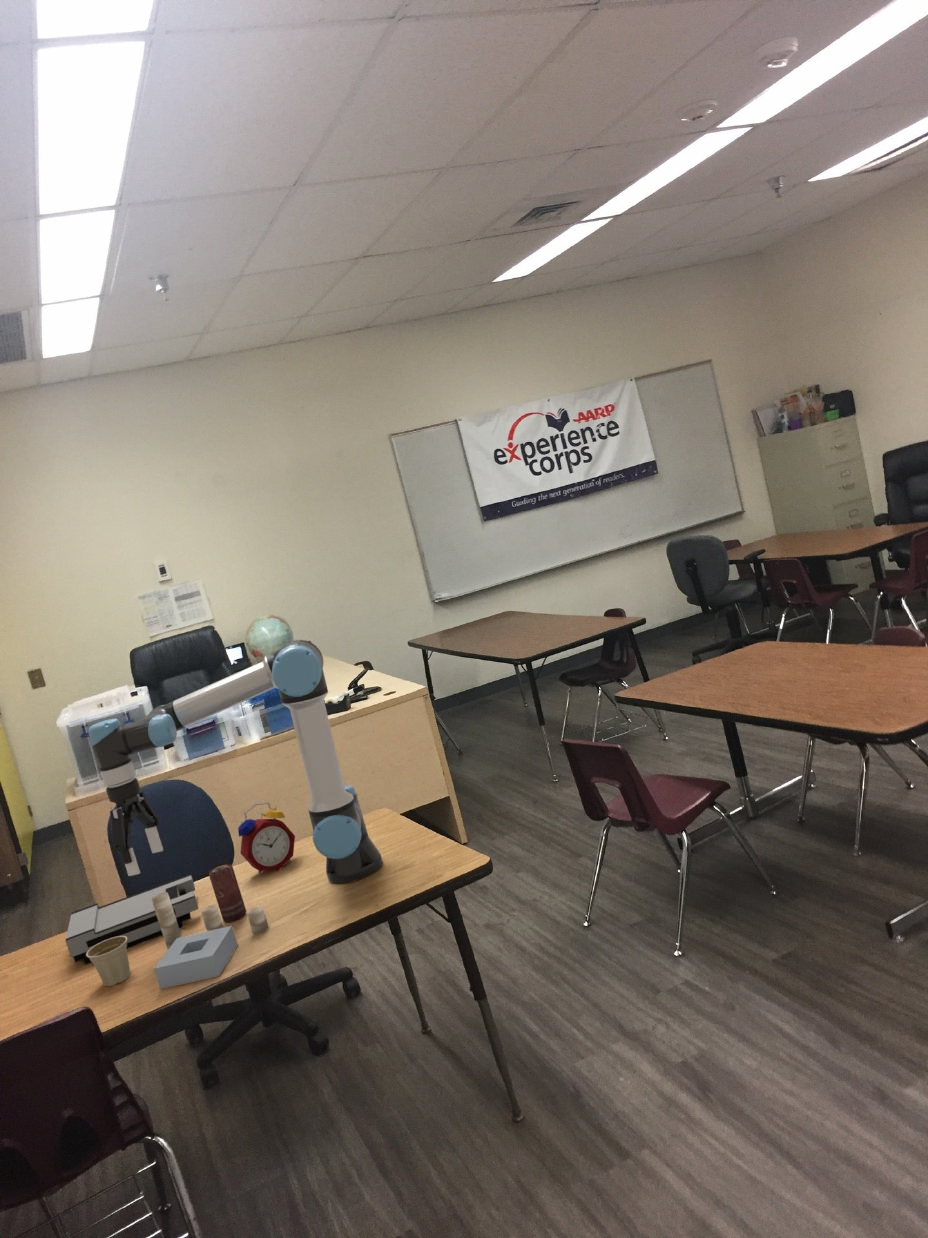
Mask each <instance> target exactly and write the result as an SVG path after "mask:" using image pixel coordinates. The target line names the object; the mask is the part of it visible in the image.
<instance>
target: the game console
mask: <svg viewBox="0 0 928 1238" xmlns="http://www.w3.org/2000/svg"><path fill="white" fill-rule="evenodd" d="M195 891H196V886H195V883H194V879H193V876H192V873H189V874H186V875H184V876H180V877H178V878H176V879H175V878H174V879H173V880H170V881H167V882H164V883H162V884H159V885H157V886H153V887H151V888H149V889H145V890H143V891H140V892H137V893H135V894H132V895H128V896H127V897H124V898H120V899H118V900H115V901H113V902H110V903H107V904H104V905H102V906H99V904H98V903H94V904H92V905H89V906H87V907H84V908H81V909H78V910H75V911H73V912H71V913H70V918H69V923H68V927H67V932H66V936H65V943H66V947H67V950H68V953H69V956H70V958H73V960H74V962H75V963H78V962H80V961H82V962H83V964H84V966H85V965H88V964H91V963H92V962H91V961H90V959H89V958H88V957H87V956H86V953H87V952H88V951H89V950H90V949H91V948H92V947H93V946H95V945H96V944H98V943H100V942H102V941H104V940H107V939H110V938H113V937H117V936H126V937H127V947H126V949H131V948H132V947H135V946H137V945H138V946H139V945H140V944H143V943H145V942H148V941H151V940H153V939H157V938H158V937H161V936H163V934H162V930H161V927H160V924H159V921H158V918H157V915H156V912H155V909H154V906H153V903H152V900H151V899H152V898H153V897H154V896H156V895H158V894H160V893H164V892H167V893H168V895H169V898H170V901H171V904H172V907H173V911H174V914H175V917H176V920H177V923H178V926H179V929H182V928H184V925H183V922H185V921H188V920H190V919H192V917H191V912H195V911H198V910H199V905H198V904H199V903H198V901H197V898H196V894H195Z"/></svg>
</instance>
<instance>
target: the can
mask: <svg viewBox="0 0 928 1238" xmlns="http://www.w3.org/2000/svg"><path fill="white" fill-rule="evenodd" d="M208 877H209V880H210V883H211V886H212V889H213V892H214V895H215V898H216V902H217V907H218V910H219V913H220V916H221V920H222V922H225V923H227V924H229V923H235V922H237V921H240V920H241V919H243V918H244V917H245V916H247V908H246V906H245V905H246V904H245V902H244V899H243V896H242V893H241V889H240V887H239V886H240V885H239V883H238V879H237V877H236V873H235V870H234V866H233V865H232V864H231V863H230V862H223V863H219V864H217V865H214V866H213V867H211V868H210V869H209V871H208Z"/></svg>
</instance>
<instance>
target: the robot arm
mask: <svg viewBox="0 0 928 1238" xmlns="http://www.w3.org/2000/svg"><path fill="white" fill-rule="evenodd" d="M327 685H328V684H327V682H326V676H325V673H324V656H323V654H322V652H321V650H320V649H319V648H318V646H317V645H315V644H314V643H313V642H311V641H308V640H304V639H295V640H292V641H290V642H288V643H286V644H285V645H283V646H282V647H281V648H279V649H277V650H276V651H273V652H271V653H269V654H266V655H264V658H263V660H262V661H261V662H259V663H258V662H257V663H256V664H254V665H251V666H250V667H247V668H245V669H243V670H240V671H238V672H235V673H233V674H231V675H229V676H227V677H225V678H222V679H221V680H218V681H215V682H213V683H211V684H208V685H206V686H204V687H202V688H199V689H197V690H195V691H192V692H191V693H189V694H186V695H184V696H182V697H179V698H177V699H175V700H173V701H170V702H168V703H166V704H162V705H158V706H156V707H154V708H153V709H151V711H149V713H148V714H147V715H145V716H144V717H143V718H142V719H140V720H137V721H133V722H130V723H125V724H122V723H121V722H120V720H119V719H118V718H110V719H106V720H102V721H99V722H96V723H94V724H92V725H91V726H90V727H89V728H88V737H89V740H90V746H91V749H92V750H93V751H92V752H93V754H94V758H95V760H96V763H97V765H98V768H99V771H100V776H101V778H102V781H103V785H104V786H105V787H106V789H105V791H106V794H107V797H108V800H109V802H110V803H114V804H115V806H116V809H112V810H110V811H109V815H110V818H111V828H112V829H111V830H112V842H113V843H112V844H113V846H112V847H113V852H114V853H120V854H121V858H122V859H123V863H124V866H125V868H126V872H127V875H128V877H132V876H136V875H139V874H141V870H140V868H139V864H138V861H137V857H136V855H135V852H134V848H133V847H131V835H132V823H134V819H135V818H136V819H137V820H138V821H139V822H140V823H141V824H143V825H144V826H145V829H144V832H145V834H146V838H147V841H148V845H149V848H150V850H151V853H152V854H156V853H161V852H163V851H164V847H163V844H162V840H161V839H160V835H159V831H158V828H157V826H158V825H160V820H159V819H160V817H159V816H158V814H157V812H156V811H155V809H154V808H153V807H152V805H151V803H150V802H149V800H148V798H147V797H146V794H145V792H144V790H142V791H141V786H140V784H139V780H138V778H136V775H137V774H136V771H135V768H134V764H133V760H132V759H131V755H135V754H137V753H142V752H146V751H149V750H153V749H156V748H164V747H165V746H168V745H171V744H173V743H175V742H176V740H177V735H178V733H177V732H179V731H181V730H183V729H185V728H187V727H190V726H192V725H194V724H196V723H199V722H200V721H203V720H205V719H208V718H210V717H212V716H214V715H216V714H219V713H221V712H223V711H225V710H228V709H230V708H232V707H235V706H237V705H239V704H241V703H244V702H246V701H248V700H251V699H253V698H255V697H258V696H259V695H262V694H264V693H266V692H268V691H271V690H273V689H278V694H279V696H280V701H281V704H282V705H283V706H285V707H286V708H287V709H289V711H290V715H291V718H292V719H291V720H292V722H293V723H292V724H293V728H294V731H295V737H296V740H297V744H298V747H299V748H298V749H299V751H300V756H301V761H302V764H303V769H304V773H305V777H306V780H307V784H308V788H309V793H310V796H311V802H310V804H308V806H307V809H308V814H309V815H308V816H309V819H310V824H311V826H312V827H311V828H312V830H313V832H312V842H313V845H314V847H315V848H316V850H317V852H318V853H320V854H321V855H322V856H324V857H326V861H325V862H326V863H325V864H326V866H325V867H326V868H325V871H326V873H325V874H326V876H327V880H328V882H330V883H332V884H348V883H353V882H356V881H359V880H361V879H364V878H366V877H368V876H371V875H372V874H374V873H375V872H377V871H378V870H379V869H380V868H382V866H383V863H384V862H383V857H382V855H381V853H380V851H379V850H378V848H377V846H376V845H375V844H374V842H373V841H372V840H371V838H370V836H369V833H368V831H367V830H368V829H367V827H366V823H365V820H364V816H363V812H362V809H361V806H360V802H359V799H358V795H359V794H358V793H357V792H356V789H355V787H354V786H352V785H345V781H344V778H343V773H342V770H341V765H340V761H339V758H338V753H337V749H336V746H335V741H334V738H333V737H334V736H333V732H332V729H331V725H330V719H329V714H328V711H327V708H326V703H325V698H326V697H327V696H328V694H329V690H328V686H327Z"/></svg>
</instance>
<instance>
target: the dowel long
mask: <svg viewBox="0 0 928 1238" xmlns="http://www.w3.org/2000/svg"><path fill="white" fill-rule="evenodd" d="M151 900H152V903H153V906H154V909H155V912H156V915H157V918H158V921H159V924H160V927H161V930H162V934H163V935H162V936H163V937H162V938H163V939H164V942H165V945H166V948H167V950H168V949H169V948H170V947H171V945H172V944H173V943H174V941H175V940H176V939H177V938H180V937H183V936H182V934H181V933H182V932H181V930H180V929H181V928H180V929H179V926H178V923H177V920H176V917H175V914H174V911H173V907H172V904H171V901H170V898H169V895H168V893H167V892H164V893H160V894H158V895H156V896H154V897H153V898H152V899H151Z"/></svg>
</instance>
